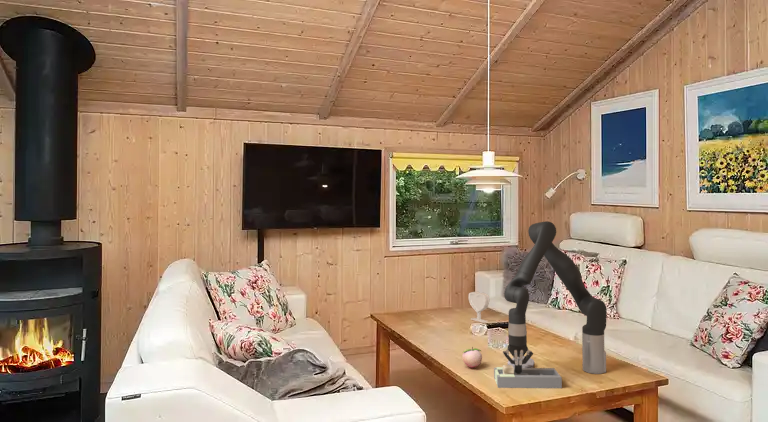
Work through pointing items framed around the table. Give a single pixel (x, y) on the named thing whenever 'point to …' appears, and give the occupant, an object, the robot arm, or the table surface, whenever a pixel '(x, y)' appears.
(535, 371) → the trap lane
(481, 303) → the heart sculpture
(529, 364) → the stone block
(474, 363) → the decorative fruit
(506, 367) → the cube
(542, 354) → the table surface
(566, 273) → the robot arm
